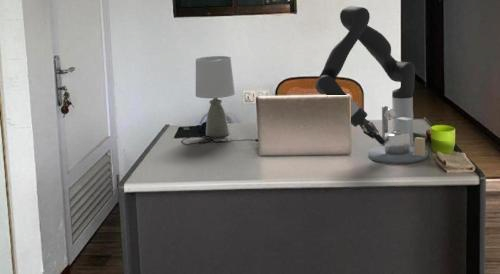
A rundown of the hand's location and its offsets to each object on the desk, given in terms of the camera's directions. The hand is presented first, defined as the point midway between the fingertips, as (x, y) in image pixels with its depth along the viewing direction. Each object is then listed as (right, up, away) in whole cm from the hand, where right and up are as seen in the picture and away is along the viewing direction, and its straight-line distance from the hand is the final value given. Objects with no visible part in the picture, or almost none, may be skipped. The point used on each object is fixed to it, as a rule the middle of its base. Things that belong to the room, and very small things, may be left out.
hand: (383, 142), depth 312 cm
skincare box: (+12, -1, +17) cm, 21 cm away
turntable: (+6, -6, 0) cm, 8 cm away
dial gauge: (+4, -3, +12) cm, 13 cm away
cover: (+6, -4, -1) cm, 7 cm away
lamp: (-70, +3, +55) cm, 89 cm away
